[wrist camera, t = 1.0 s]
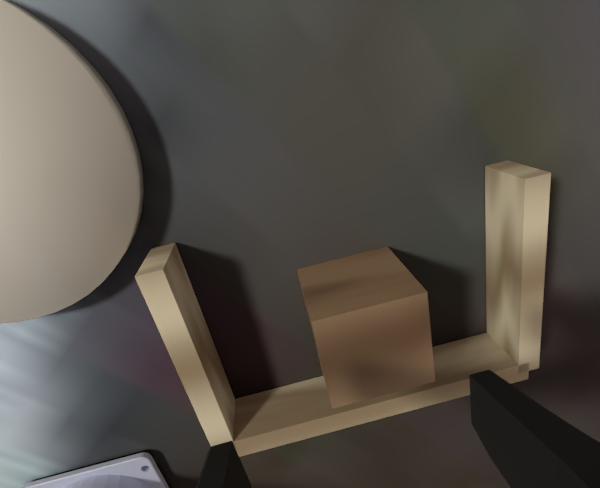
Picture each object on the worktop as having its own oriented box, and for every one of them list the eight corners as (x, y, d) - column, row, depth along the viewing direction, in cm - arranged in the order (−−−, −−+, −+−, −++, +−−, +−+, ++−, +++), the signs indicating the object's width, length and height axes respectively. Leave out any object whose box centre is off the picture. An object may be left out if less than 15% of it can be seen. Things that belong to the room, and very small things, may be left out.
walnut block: (396, 320, 22) (434, 381, 18) (314, 342, 22) (332, 408, 18) (386, 245, 20) (427, 291, 16) (296, 268, 20) (310, 321, 16)
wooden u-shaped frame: (505, 342, 24) (538, 376, 21) (221, 418, 23) (218, 462, 21) (507, 160, 19) (551, 172, 16) (151, 248, 18) (134, 276, 16)
